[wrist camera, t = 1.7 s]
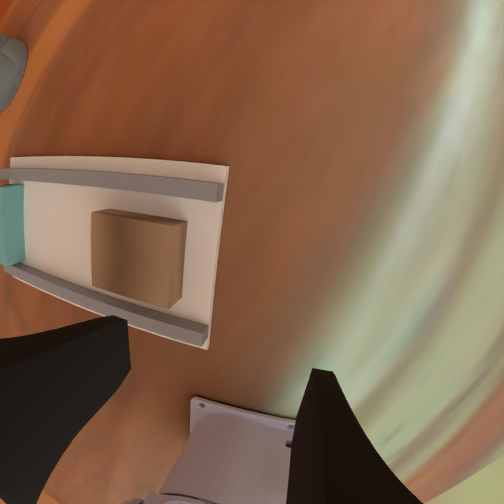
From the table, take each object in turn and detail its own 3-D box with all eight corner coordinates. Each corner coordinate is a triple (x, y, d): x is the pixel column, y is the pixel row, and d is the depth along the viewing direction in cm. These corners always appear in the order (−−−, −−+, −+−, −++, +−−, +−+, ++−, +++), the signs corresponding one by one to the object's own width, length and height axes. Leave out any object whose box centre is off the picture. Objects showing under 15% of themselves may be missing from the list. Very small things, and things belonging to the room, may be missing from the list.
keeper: (187, 221, 18) (172, 226, 16) (181, 297, 19) (168, 309, 17) (109, 208, 19) (91, 212, 17) (109, 277, 20) (92, 285, 18)
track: (229, 166, 17) (212, 164, 14) (209, 346, 20) (193, 369, 17) (14, 157, 21) (-9, 158, 18) (16, 275, 24) (-4, 284, 21)
